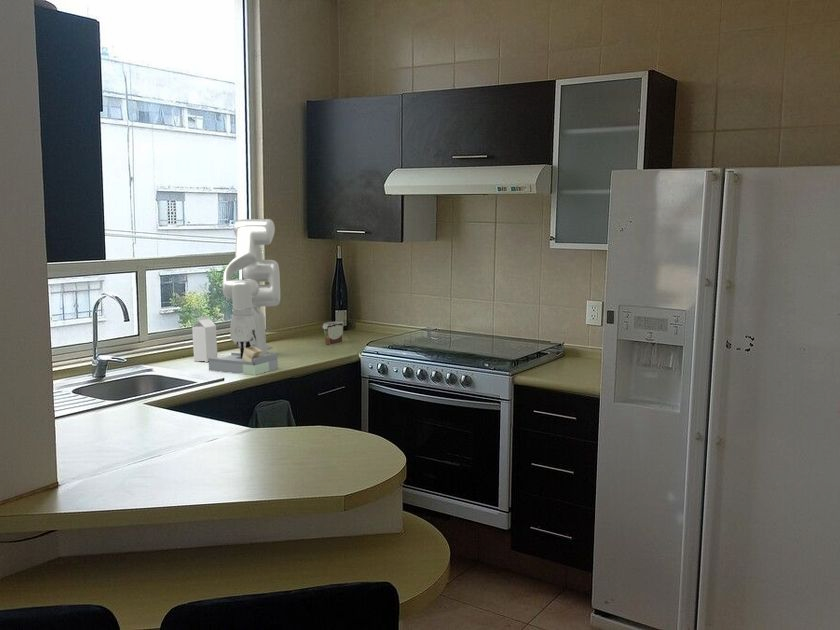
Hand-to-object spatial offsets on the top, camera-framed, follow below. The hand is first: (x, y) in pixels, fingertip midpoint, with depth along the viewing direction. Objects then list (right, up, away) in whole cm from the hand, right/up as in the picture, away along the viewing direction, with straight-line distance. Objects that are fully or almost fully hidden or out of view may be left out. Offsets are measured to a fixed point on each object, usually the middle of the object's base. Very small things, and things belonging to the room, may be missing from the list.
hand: (245, 358), depth 321 cm
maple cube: (+3, -1, -2) cm, 4 cm away
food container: (+27, +3, +65) cm, 71 cm away
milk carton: (-23, -3, +27) cm, 35 cm away
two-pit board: (-2, -5, +5) cm, 7 cm away
